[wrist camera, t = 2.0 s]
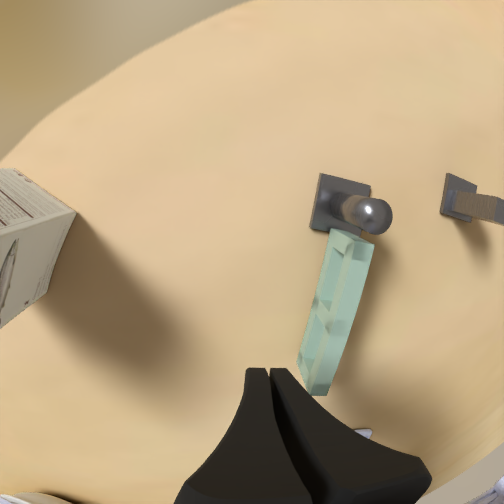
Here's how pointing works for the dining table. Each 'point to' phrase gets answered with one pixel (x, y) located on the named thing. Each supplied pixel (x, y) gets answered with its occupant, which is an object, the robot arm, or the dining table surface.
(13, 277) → the supplement box
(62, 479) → the dining table surface
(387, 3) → the dining table surface
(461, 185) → the post
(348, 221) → the hinge post
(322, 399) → the dining table surface
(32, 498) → the soup bowl
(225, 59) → the dining table surface
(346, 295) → the gate
